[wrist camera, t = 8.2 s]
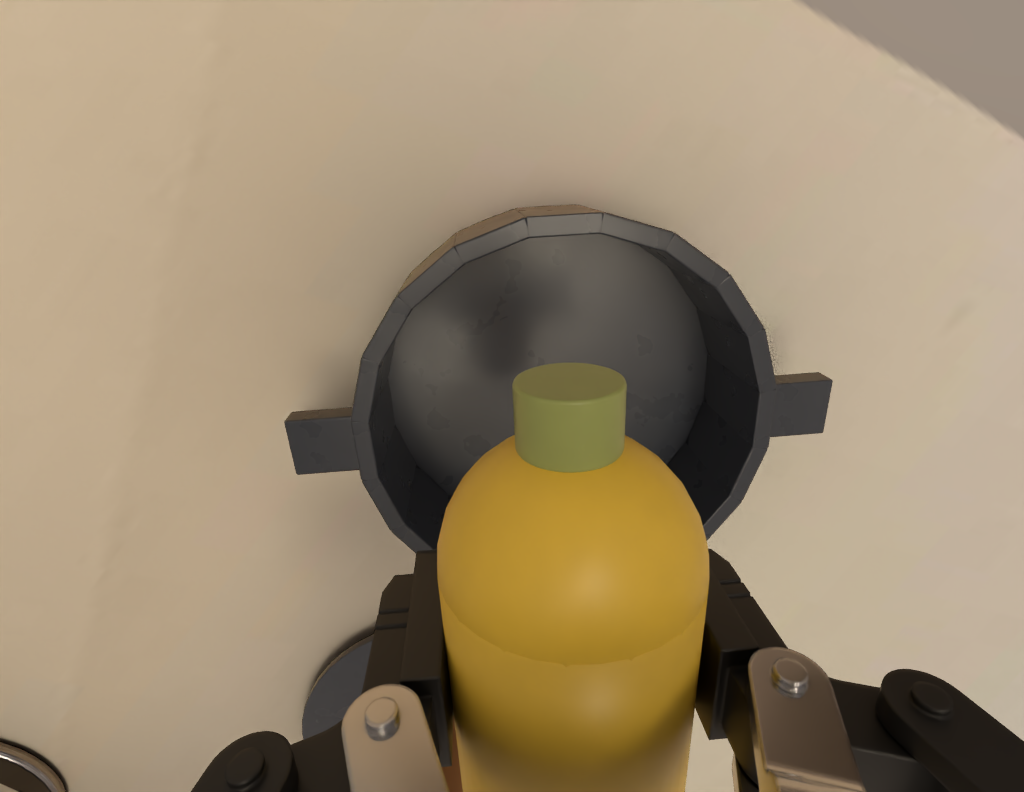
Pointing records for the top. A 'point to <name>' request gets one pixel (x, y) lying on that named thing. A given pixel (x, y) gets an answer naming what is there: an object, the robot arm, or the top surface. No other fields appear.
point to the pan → (558, 339)
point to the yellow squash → (572, 599)
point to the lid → (342, 689)
